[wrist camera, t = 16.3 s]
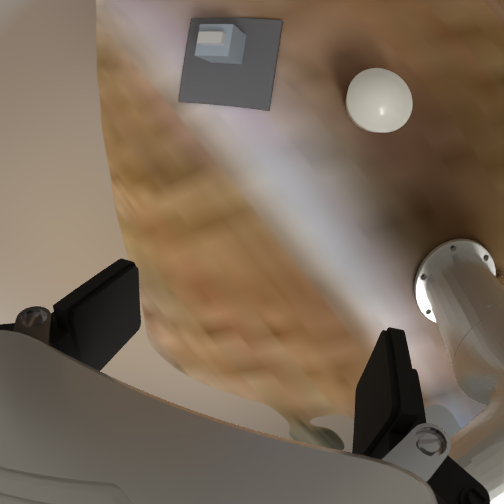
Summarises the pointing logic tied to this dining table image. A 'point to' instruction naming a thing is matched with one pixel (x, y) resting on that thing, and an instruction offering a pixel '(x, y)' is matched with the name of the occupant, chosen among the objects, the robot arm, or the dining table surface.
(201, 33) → the block
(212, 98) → the mat
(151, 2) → the dining table surface
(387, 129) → the white rounded capsule
